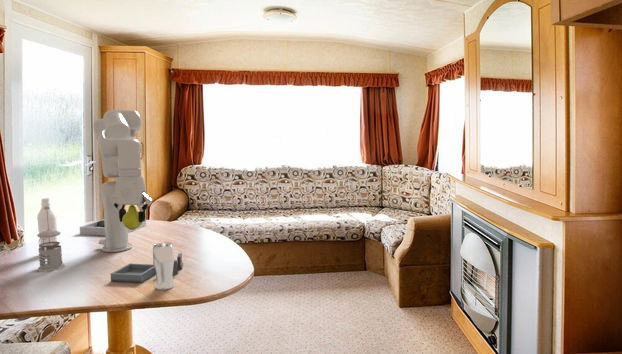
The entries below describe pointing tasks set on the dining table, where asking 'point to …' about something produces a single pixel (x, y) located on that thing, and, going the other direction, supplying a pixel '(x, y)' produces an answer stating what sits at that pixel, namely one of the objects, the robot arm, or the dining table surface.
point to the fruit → (131, 218)
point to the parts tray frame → (100, 228)
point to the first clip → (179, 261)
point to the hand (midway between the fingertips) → (132, 220)
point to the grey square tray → (133, 273)
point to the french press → (50, 251)
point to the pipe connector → (101, 224)
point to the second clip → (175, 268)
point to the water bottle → (44, 223)
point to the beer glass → (163, 265)
